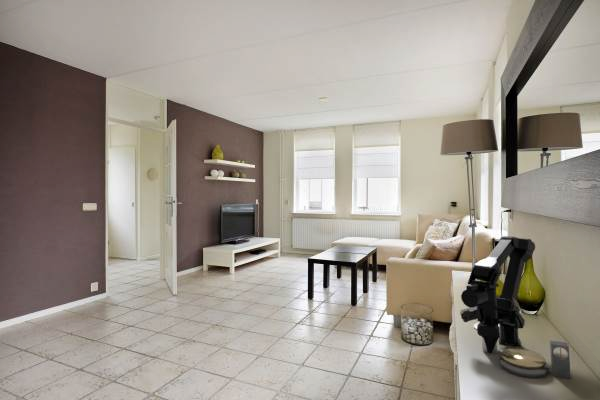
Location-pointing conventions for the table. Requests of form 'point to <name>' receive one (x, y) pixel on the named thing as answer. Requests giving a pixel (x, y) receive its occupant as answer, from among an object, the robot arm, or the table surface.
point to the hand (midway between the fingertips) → (490, 347)
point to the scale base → (558, 364)
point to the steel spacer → (486, 348)
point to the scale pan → (523, 358)
